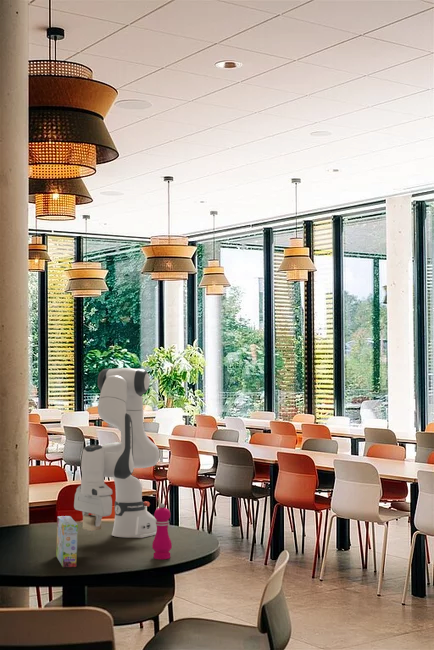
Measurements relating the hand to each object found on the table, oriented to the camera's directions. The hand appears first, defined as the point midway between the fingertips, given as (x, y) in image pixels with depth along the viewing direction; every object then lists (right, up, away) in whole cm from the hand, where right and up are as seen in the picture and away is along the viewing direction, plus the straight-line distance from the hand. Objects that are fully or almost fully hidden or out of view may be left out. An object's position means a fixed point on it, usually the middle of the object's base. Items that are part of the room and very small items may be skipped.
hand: (92, 524), depth 347 cm
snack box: (-7, -10, -16) cm, 20 cm away
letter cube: (0, -2, 0) cm, 2 cm away
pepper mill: (+27, -11, -9) cm, 30 cm away
